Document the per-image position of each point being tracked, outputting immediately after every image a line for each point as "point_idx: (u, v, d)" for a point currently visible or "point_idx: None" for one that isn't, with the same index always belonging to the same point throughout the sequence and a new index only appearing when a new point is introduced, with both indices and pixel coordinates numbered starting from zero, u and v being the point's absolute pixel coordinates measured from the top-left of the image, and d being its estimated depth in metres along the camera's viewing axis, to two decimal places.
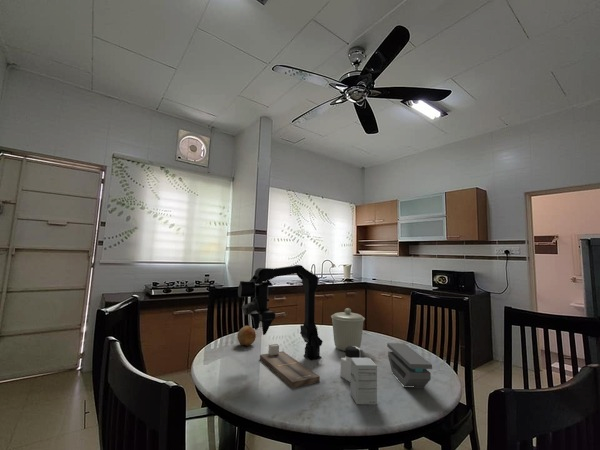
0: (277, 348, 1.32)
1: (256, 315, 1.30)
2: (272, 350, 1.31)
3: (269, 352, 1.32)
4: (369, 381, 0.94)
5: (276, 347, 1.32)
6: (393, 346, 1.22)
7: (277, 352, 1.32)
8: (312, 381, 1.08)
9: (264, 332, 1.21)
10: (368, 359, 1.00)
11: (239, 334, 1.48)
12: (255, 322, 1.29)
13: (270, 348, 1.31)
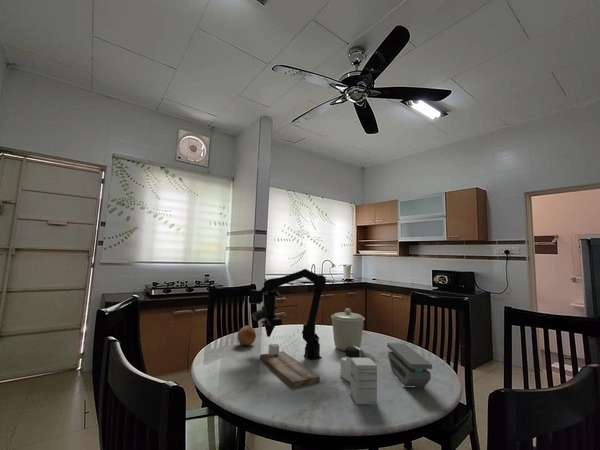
0: (277, 348, 1.32)
1: None
2: (272, 350, 1.31)
3: (269, 352, 1.32)
4: (369, 381, 0.94)
5: (276, 347, 1.32)
6: (393, 346, 1.22)
7: (277, 352, 1.32)
8: (312, 381, 1.08)
9: (268, 334, 1.39)
10: (368, 359, 1.00)
11: (239, 334, 1.48)
12: None
13: (270, 348, 1.31)
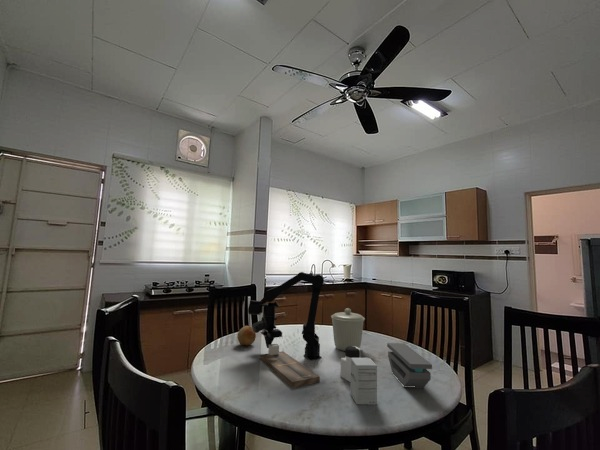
0: (277, 348, 1.32)
1: None
2: (272, 350, 1.31)
3: (269, 352, 1.32)
4: (369, 381, 0.94)
5: (276, 347, 1.32)
6: (393, 346, 1.22)
7: (277, 352, 1.32)
8: (312, 381, 1.08)
9: (268, 346, 1.38)
10: (368, 359, 1.00)
11: (239, 334, 1.48)
12: None
13: (270, 348, 1.31)
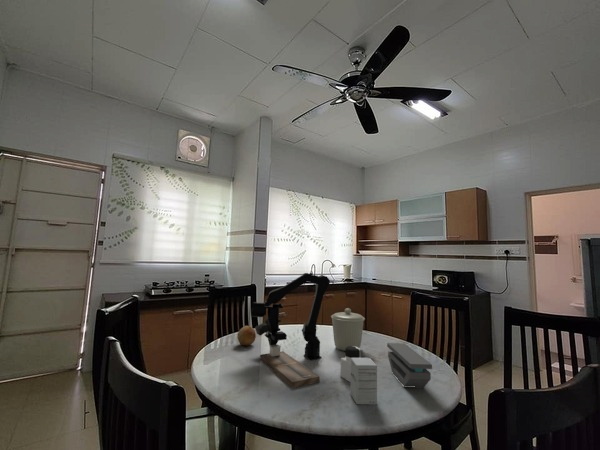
0: (278, 349, 1.31)
1: None
2: (273, 351, 1.30)
3: (270, 353, 1.31)
4: (369, 381, 0.94)
5: (277, 348, 1.31)
6: (393, 346, 1.22)
7: (278, 353, 1.31)
8: (312, 381, 1.08)
9: None
10: (368, 359, 1.00)
11: (239, 334, 1.48)
12: None
13: (271, 349, 1.30)
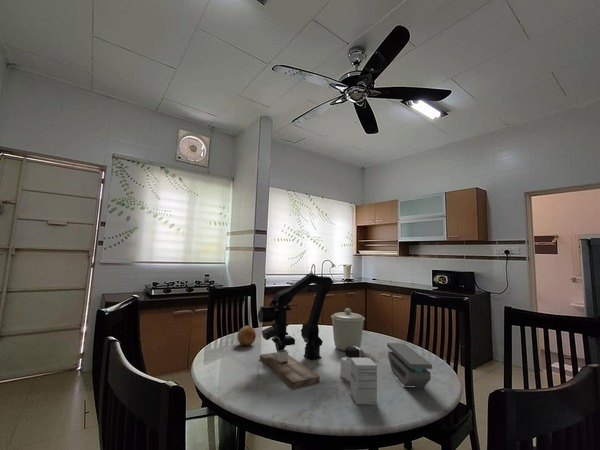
0: (286, 354, 1.24)
1: None
2: (281, 357, 1.23)
3: (278, 359, 1.24)
4: (369, 381, 0.94)
5: (285, 353, 1.24)
6: (393, 346, 1.22)
7: (286, 359, 1.24)
8: (312, 381, 1.08)
9: None
10: (368, 359, 1.00)
11: (239, 334, 1.48)
12: None
13: (279, 354, 1.23)
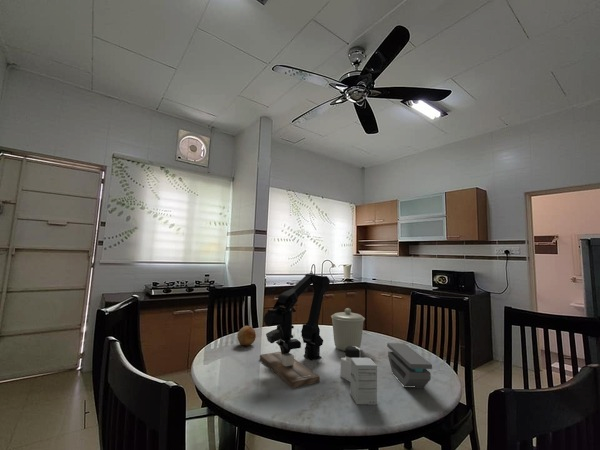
0: (292, 358, 1.20)
1: None
2: (286, 361, 1.18)
3: (283, 363, 1.19)
4: (369, 381, 0.94)
5: (291, 357, 1.19)
6: (393, 346, 1.22)
7: (292, 363, 1.19)
8: (312, 381, 1.08)
9: None
10: (368, 359, 1.00)
11: (239, 334, 1.48)
12: None
13: (284, 358, 1.19)
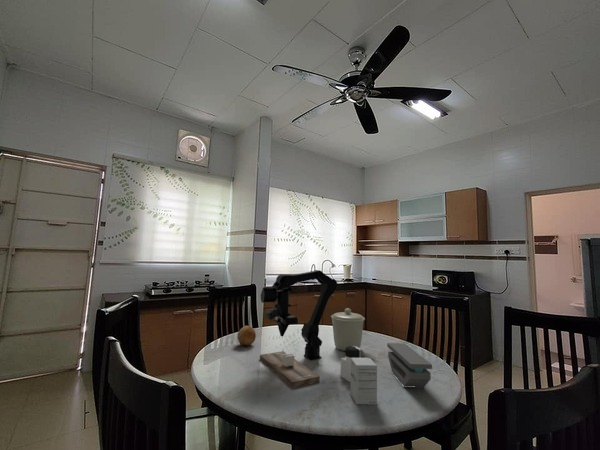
0: (292, 358, 1.19)
1: None
2: (287, 361, 1.18)
3: (283, 363, 1.19)
4: (369, 381, 0.94)
5: (291, 357, 1.19)
6: (393, 346, 1.22)
7: (292, 363, 1.19)
8: (312, 381, 1.08)
9: (282, 334, 1.30)
10: (368, 359, 1.00)
11: (239, 334, 1.48)
12: None
13: (284, 358, 1.19)
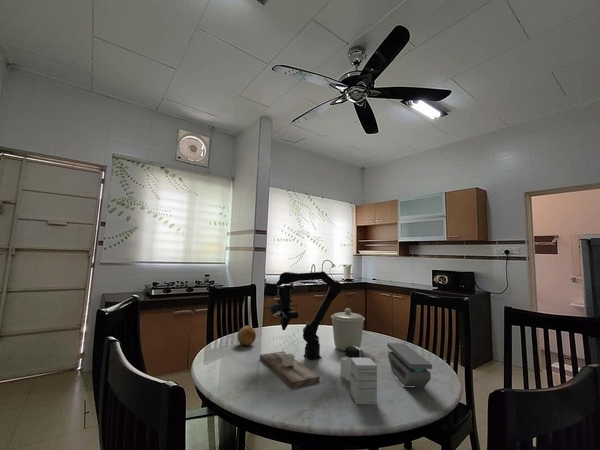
0: (292, 358, 1.19)
1: (283, 316, 1.40)
2: (287, 361, 1.18)
3: (283, 363, 1.19)
4: (369, 381, 0.94)
5: (291, 357, 1.19)
6: (393, 346, 1.22)
7: (292, 363, 1.19)
8: (312, 381, 1.08)
9: (284, 328, 1.38)
10: (368, 359, 1.00)
11: (239, 334, 1.48)
12: None
13: (284, 358, 1.19)
